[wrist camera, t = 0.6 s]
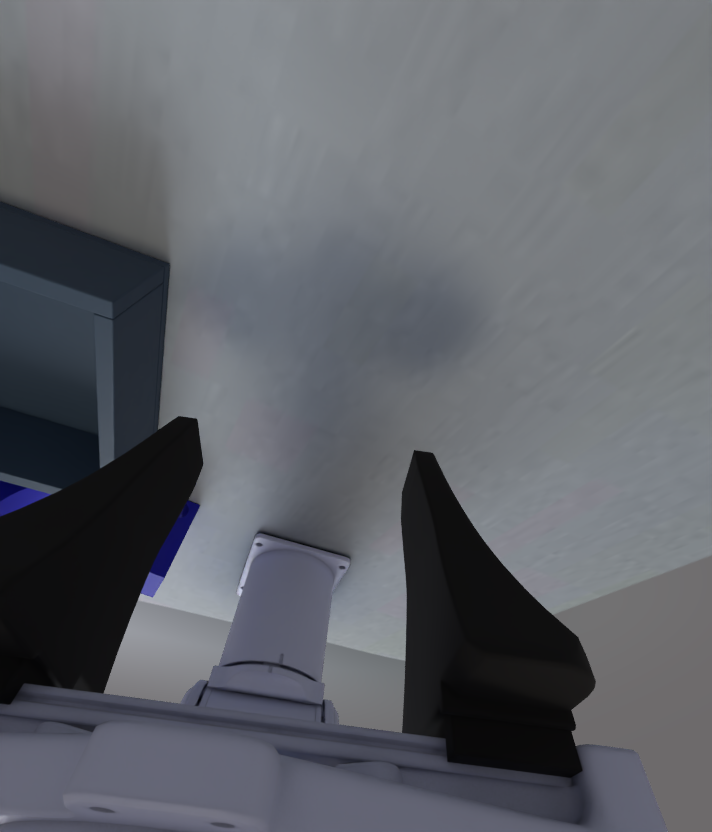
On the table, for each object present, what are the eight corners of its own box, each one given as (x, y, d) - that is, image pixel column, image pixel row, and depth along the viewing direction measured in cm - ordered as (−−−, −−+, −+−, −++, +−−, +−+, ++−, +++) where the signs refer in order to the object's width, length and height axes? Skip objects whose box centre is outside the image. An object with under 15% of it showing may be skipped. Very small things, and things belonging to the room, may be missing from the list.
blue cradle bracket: (26, 474, 30) (-43, 542, 25) (32, 435, 28) (-44, 502, 23) (182, 535, 33) (147, 606, 28) (200, 505, 31) (164, 577, 26)
